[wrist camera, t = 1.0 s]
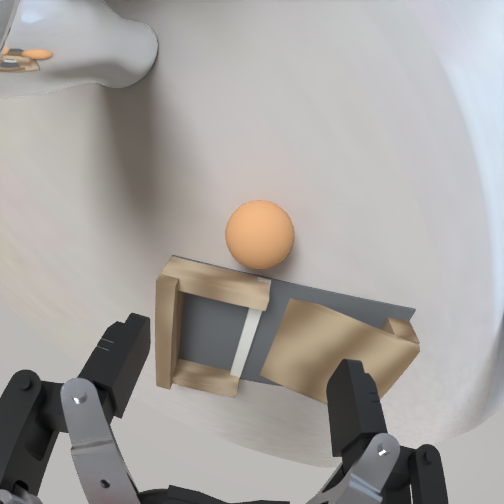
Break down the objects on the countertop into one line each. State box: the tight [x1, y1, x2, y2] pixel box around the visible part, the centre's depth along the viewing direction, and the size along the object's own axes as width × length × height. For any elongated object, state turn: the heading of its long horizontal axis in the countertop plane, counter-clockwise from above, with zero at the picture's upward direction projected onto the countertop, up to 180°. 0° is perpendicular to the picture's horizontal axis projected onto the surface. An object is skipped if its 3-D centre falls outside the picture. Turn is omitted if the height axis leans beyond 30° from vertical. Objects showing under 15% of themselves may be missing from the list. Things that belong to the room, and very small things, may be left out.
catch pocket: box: [155, 256, 270, 398], centre depth 27 cm, size 9×15×4 cm, turn 167°
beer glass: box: [0, 0, 158, 99], centre depth 10 cm, size 7×7×15 cm
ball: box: [225, 200, 294, 269], centre depth 21 cm, size 5×5×5 cm
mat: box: [172, 255, 416, 386], centre depth 29 cm, size 25×15×1 cm, turn 77°
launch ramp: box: [260, 298, 420, 404], centre depth 28 cm, size 14×12×6 cm
